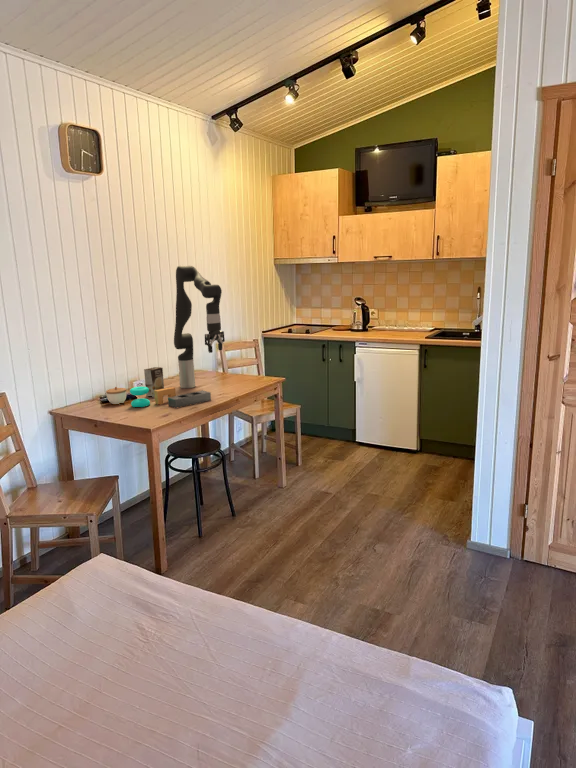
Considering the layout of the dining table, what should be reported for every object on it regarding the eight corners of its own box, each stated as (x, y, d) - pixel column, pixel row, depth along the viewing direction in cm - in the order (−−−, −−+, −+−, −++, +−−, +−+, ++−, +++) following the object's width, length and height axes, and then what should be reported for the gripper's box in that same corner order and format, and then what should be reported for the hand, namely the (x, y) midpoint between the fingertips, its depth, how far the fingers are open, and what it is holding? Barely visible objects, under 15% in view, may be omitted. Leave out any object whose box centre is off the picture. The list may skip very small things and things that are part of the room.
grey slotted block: (168, 405, 290) (167, 397, 289) (203, 398, 304) (202, 390, 303) (176, 408, 284) (175, 399, 283) (211, 400, 298) (210, 392, 297)
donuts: (134, 390, 283) (126, 388, 291) (136, 409, 285) (128, 406, 293) (152, 387, 290) (143, 385, 297) (153, 405, 292) (144, 402, 299)
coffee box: (154, 397, 311) (151, 370, 308) (146, 396, 314) (143, 369, 311) (165, 394, 319) (162, 367, 315) (156, 393, 322) (154, 366, 318)
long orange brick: (155, 403, 295) (154, 390, 294) (173, 400, 303) (172, 387, 301) (158, 404, 293) (157, 391, 291) (176, 401, 300) (175, 387, 298)
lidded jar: (110, 401, 305) (109, 385, 303) (129, 400, 305) (128, 384, 303) (104, 406, 295) (102, 389, 293) (124, 405, 295) (122, 388, 293)
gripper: (216, 320, 302) (218, 349, 305) (199, 323, 290) (201, 353, 293) (227, 320, 298) (228, 349, 301) (210, 323, 286) (212, 353, 289)
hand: (215, 351), depth 297 cm, fingers open, 8 cm apart
